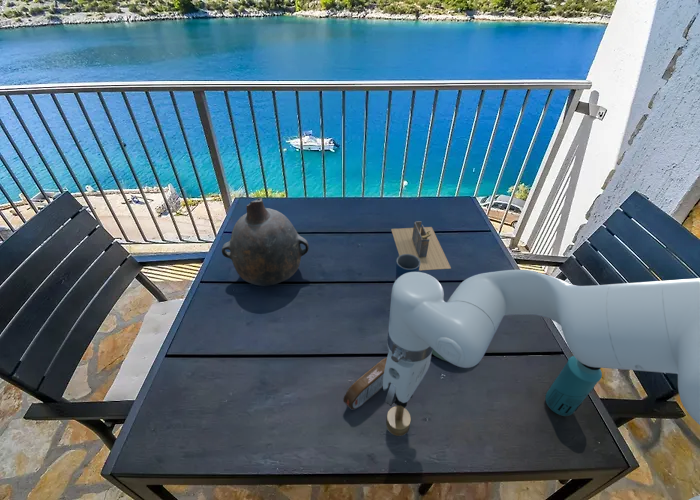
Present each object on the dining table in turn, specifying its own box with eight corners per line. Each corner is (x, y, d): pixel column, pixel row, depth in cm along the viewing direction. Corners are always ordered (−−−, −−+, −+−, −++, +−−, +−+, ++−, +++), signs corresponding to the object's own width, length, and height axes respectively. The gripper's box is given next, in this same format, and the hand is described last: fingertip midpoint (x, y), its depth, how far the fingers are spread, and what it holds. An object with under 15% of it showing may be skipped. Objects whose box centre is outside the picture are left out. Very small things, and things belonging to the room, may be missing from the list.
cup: (403, 309, 104) (409, 272, 95) (387, 297, 109) (391, 260, 99) (418, 299, 108) (425, 262, 99) (402, 287, 112) (407, 250, 103)
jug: (290, 246, 129) (280, 171, 110) (318, 280, 114) (312, 200, 96) (224, 270, 118) (201, 191, 100) (246, 310, 104) (224, 228, 85)
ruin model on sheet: (451, 268, 119) (456, 246, 113) (404, 271, 118) (407, 248, 112) (431, 227, 139) (435, 205, 133) (391, 228, 137) (393, 207, 131)
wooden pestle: (413, 421, 75) (422, 379, 65) (402, 441, 72) (409, 400, 62) (393, 408, 78) (399, 365, 68) (381, 426, 75) (385, 385, 65)
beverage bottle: (548, 419, 79) (586, 369, 66) (537, 392, 84) (570, 341, 72) (577, 420, 79) (621, 370, 66) (564, 393, 84) (602, 341, 71)
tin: (387, 369, 89) (389, 349, 83) (396, 378, 87) (399, 358, 82) (342, 408, 81) (342, 388, 76) (351, 418, 79) (351, 399, 74)
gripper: (407, 387, 50) (398, 443, 62) (451, 319, 60) (436, 378, 72) (364, 361, 54) (363, 419, 65) (413, 300, 64) (404, 360, 75)
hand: (401, 397), depth 68 cm, fingers closed on wooden pestle
